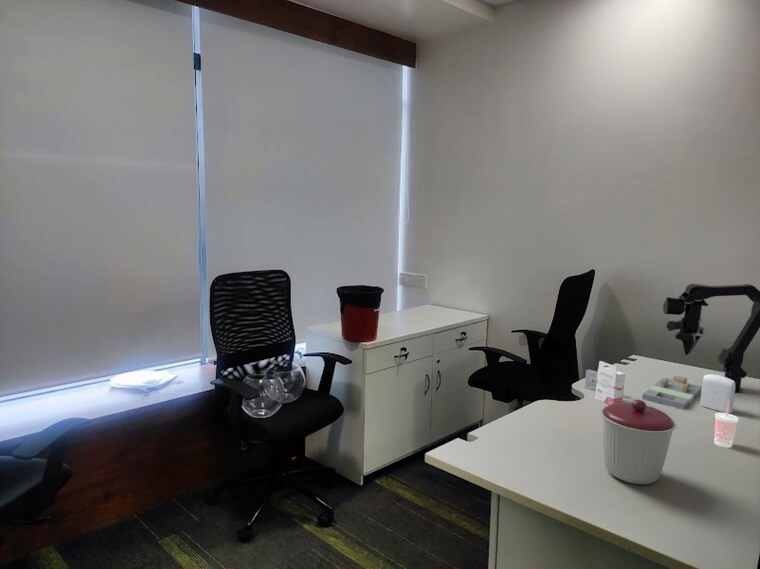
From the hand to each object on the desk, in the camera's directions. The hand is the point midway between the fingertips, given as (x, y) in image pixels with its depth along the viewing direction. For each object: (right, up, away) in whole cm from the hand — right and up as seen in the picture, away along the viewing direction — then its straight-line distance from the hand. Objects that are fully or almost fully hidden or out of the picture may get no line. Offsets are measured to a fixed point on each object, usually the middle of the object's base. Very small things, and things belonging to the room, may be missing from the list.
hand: (687, 353), depth 214 cm
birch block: (-5, -12, -4) cm, 13 cm away
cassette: (-38, -14, -8) cm, 42 cm away
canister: (-56, -24, -70) cm, 93 cm away
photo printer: (-3, -17, -22) cm, 28 cm away
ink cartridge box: (-40, -15, -18) cm, 46 cm away
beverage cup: (-18, -21, -51) cm, 58 cm away
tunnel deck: (-12, -15, -10) cm, 21 cm away
